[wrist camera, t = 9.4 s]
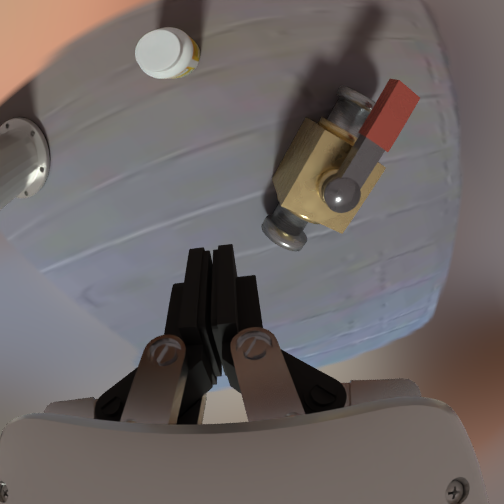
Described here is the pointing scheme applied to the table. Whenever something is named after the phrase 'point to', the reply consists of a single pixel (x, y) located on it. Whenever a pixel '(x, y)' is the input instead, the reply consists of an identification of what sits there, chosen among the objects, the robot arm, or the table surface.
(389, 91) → the lever
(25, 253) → the table surface
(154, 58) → the supplement bottle
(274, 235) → the valve
